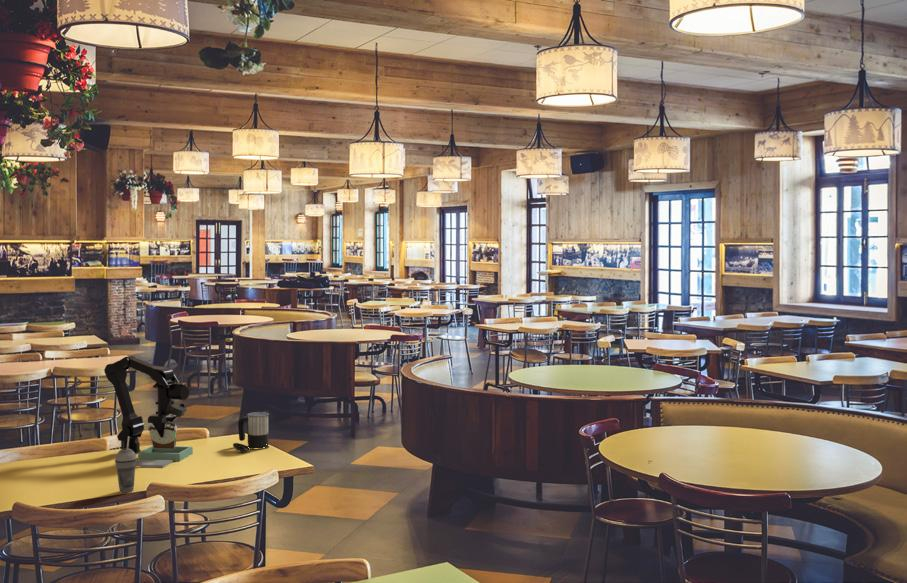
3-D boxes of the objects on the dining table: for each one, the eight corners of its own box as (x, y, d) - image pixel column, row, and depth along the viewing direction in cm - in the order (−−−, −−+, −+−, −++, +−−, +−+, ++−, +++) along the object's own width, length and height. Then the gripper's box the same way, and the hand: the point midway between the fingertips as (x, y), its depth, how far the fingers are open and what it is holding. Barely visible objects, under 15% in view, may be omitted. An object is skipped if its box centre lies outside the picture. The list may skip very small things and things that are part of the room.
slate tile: (129, 466, 323) (129, 464, 323) (139, 461, 331) (139, 459, 331) (163, 467, 321) (163, 465, 321) (172, 462, 329) (172, 460, 329)
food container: (184, 443, 342) (182, 421, 340) (178, 449, 336) (175, 427, 334) (156, 442, 343) (154, 420, 341) (149, 448, 338) (147, 426, 335)
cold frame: (138, 459, 334) (138, 452, 333) (152, 452, 345) (152, 445, 345) (179, 461, 331) (179, 453, 331) (192, 453, 343) (192, 446, 343)
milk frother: (271, 444, 359) (270, 411, 358) (265, 453, 343) (264, 419, 342) (238, 445, 358) (238, 412, 357) (231, 454, 342) (230, 419, 342)
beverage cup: (119, 488, 293) (117, 434, 292) (140, 488, 294) (138, 433, 293) (112, 494, 286) (111, 438, 285) (133, 494, 286) (132, 438, 285)
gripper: (172, 403, 327) (173, 441, 328) (193, 394, 345) (193, 431, 346) (146, 402, 328) (147, 440, 329) (168, 394, 347) (168, 430, 348)
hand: (165, 435), depth 338 cm, fingers closed on food container, 6 cm apart
